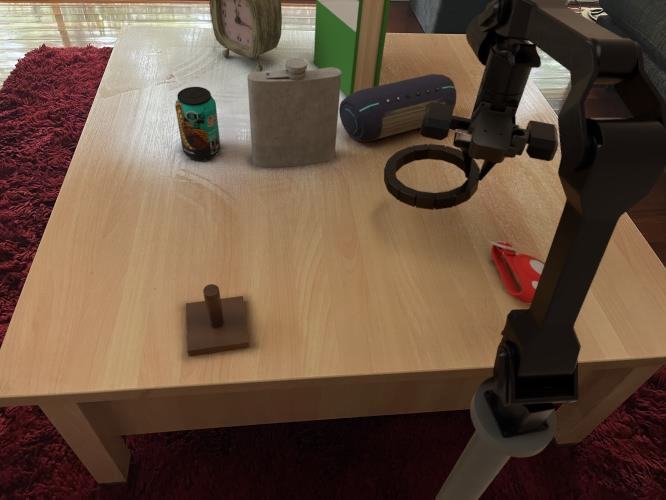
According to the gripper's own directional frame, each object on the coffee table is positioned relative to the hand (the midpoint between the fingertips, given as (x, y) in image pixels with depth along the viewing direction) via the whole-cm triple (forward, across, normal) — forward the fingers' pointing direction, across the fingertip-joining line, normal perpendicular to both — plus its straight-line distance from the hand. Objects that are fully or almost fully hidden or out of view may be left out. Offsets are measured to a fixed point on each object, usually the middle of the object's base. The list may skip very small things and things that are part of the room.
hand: (473, 177), depth 81 cm
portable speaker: (+11, -15, +28) cm, 33 cm away
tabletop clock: (+11, -54, +44) cm, 70 cm away
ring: (+2, -6, 0) cm, 7 cm away
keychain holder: (+10, +10, -8) cm, 17 cm away
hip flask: (+12, -32, +10) cm, 35 cm away
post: (+12, -31, -30) cm, 44 cm away
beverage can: (+12, -49, +7) cm, 51 cm away
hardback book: (+11, -30, +44) cm, 55 cm away
